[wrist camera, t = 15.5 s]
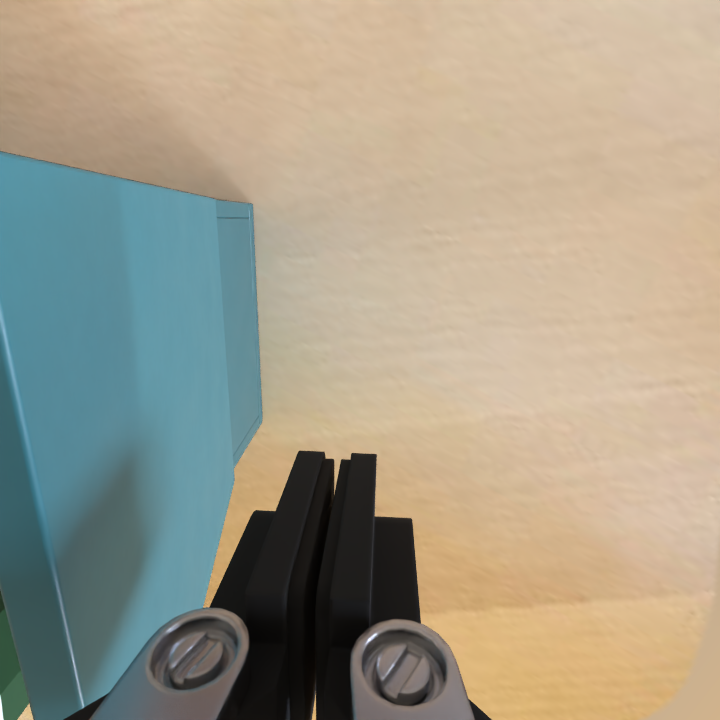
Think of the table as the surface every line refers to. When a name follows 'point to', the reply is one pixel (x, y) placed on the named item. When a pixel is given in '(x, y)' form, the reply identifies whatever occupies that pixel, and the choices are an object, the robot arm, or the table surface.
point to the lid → (106, 420)
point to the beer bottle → (10, 673)
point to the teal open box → (240, 320)
